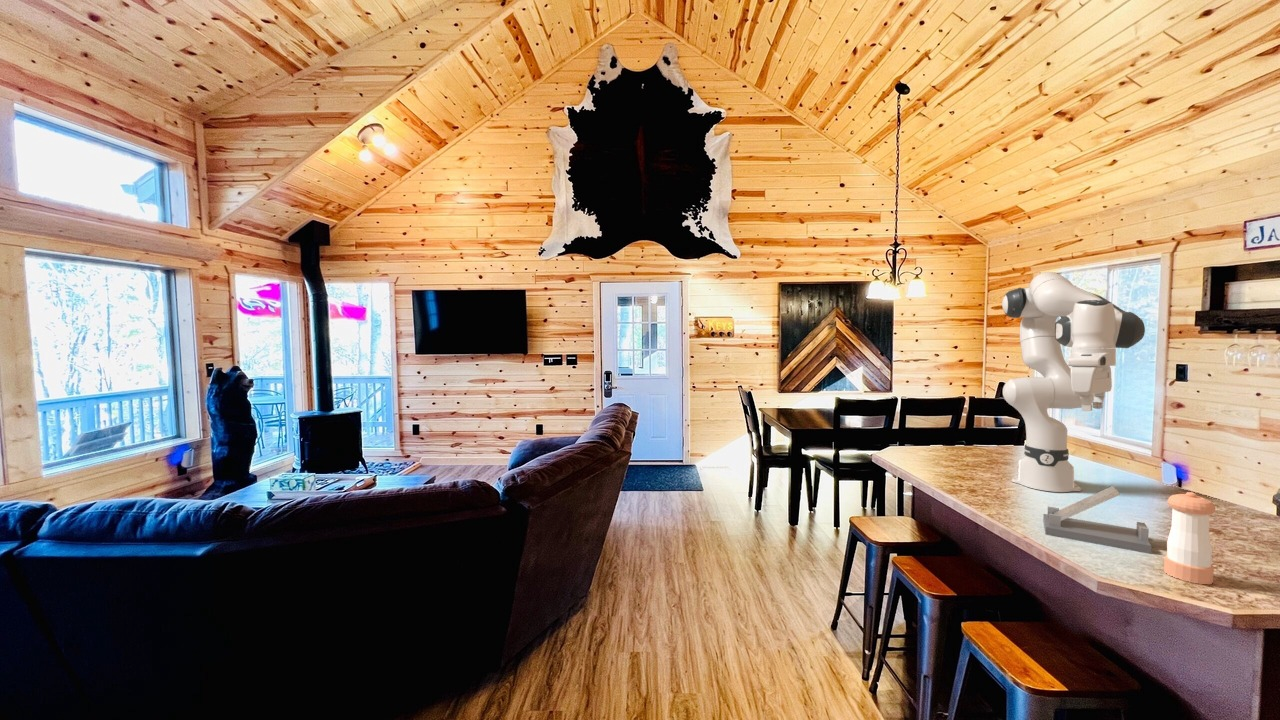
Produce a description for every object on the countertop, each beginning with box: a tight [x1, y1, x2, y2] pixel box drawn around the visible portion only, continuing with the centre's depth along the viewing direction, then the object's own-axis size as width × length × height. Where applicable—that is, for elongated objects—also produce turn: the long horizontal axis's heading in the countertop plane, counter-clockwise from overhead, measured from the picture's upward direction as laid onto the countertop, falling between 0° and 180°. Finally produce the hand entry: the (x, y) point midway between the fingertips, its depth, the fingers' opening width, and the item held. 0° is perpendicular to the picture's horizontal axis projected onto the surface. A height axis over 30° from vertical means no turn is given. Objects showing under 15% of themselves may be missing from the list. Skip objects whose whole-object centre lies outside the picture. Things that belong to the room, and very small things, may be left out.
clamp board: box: [1042, 505, 1152, 555], centre depth 129 cm, size 12×20×5 cm, turn 52°
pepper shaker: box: [1163, 491, 1216, 585], centre depth 107 cm, size 7×7×19 cm
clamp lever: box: [1050, 485, 1121, 521], centre depth 130 cm, size 5×17×2 cm
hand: (1092, 409), depth 131 cm, fingers open, 8 cm apart
